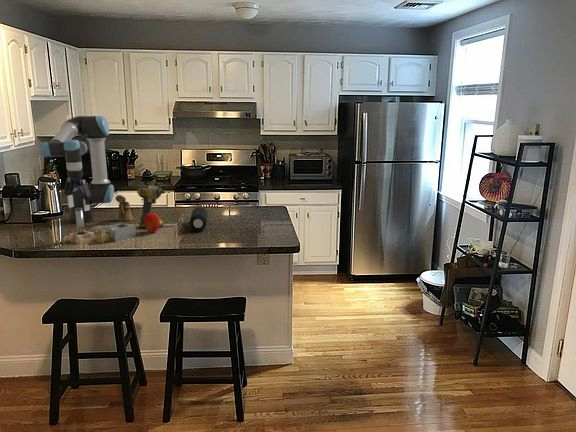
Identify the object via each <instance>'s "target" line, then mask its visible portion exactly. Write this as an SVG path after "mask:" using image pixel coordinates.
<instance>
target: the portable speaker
mask: <svg viewBox="0 0 576 432" xmlns="http://www.w3.org/2000/svg"><path fill="white" fill-rule="evenodd" d="M208 216H209V214H208V211H207V209H206V208H205V207H203V206H197V207H195V208H193V209H192V211H191V214H190V219H189V227H190V228H191V229H192V230H194V231H196V232H201V231H203V230H205V229H206V227H207V224H208Z"/></svg>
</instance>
